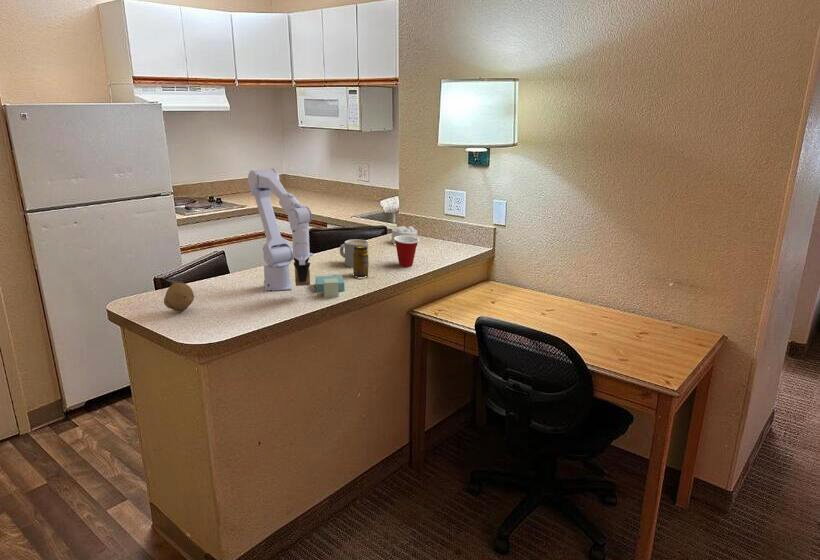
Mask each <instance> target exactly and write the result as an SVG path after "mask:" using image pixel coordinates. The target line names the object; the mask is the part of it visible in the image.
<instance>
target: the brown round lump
mask: <svg viewBox="0 0 820 560" xmlns="http://www.w3.org/2000/svg"><path fill="white" fill-rule="evenodd" d="M194 299H195V295H194V291H193V289H192V288H191V286H190V285H188V284H187V283H185V282H174V283H172V284H171V285H170V286H169V287H168V288H167V291H166V292H165V296H164V297H163V303H164V306H165V307H167V308H168V309H171V310H173V311H175V312H178V311H182V312H184V311H185V310H187V309H188V308H189V307H190V306H191V304H192V303H193V302H194Z"/></svg>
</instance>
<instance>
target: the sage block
mask: <svg viewBox="0 0 820 560" xmlns="http://www.w3.org/2000/svg"><path fill="white" fill-rule="evenodd" d="M323 285H324V292H323V295H324V296H325V297H324V296H323V297H324V298H338V297H340V296H339V292H340V291H339V289H338V280H337V278H333V279H323Z"/></svg>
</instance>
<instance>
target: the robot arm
mask: <svg viewBox="0 0 820 560" xmlns="http://www.w3.org/2000/svg"><path fill="white" fill-rule="evenodd" d="M247 183H248V187H249V190H250V193H251V195H252V196H253V197H254V199H255V203H256V206H257V210H258V213H259V216H260V219H261V223H262V227H263V229H264V230H263V231H264V233H265V237H266V239H267V241H266V242H265V243H264V244H263V246H262V252H263V253H262V254H263V260H264V263H265V264H264V265H263V273H264V274H263V277H264V280H263V284H264V291H265V290H266V291H265V292H268V291H269V292H270V290H272V291H284V290H285V291H288V290H292V282H291V276H290V275H291V274H290V265H291V264H292V262H293V261H294V262H293V266H294V269H295V268H296V270H297V273H298V277H299V281H300V282H306V278H307V271H308V268H309V269H310V266H311V262H309V260H310V257H314V253H313V252H310V251H311V250H310V233H309V232H310V230H309V229H310V226H309V223H311V222H312V218H313V216H312V215H313V214H312V212H311V209H310V207H308V206H305V205H303V204H301V203H300V201H299V200H298V199H297V198H296V197H295V195H294V194H293V193H291V192H287V190H286V189H285V187H284V185H283V184H282V183H281V181H280V174H279V173H278V171H277V170H276V169H275V168H271V169H270V168H269V169H258V170H256V169H255V170H249V172H248V175H247ZM272 194H274V196H276V197H277V198H278V199H279V200H278V202H279V204H278V205H279V206H280V207H281V208H282V210H283V211H284V212H285V213H286V214H287V220H288V223H289V227H290V229H291V237H292V238H291V239H292V247H291V245H290V242H289V240H287V239H286V238H284V237H282V235H281V231H280V229H279V228H280V227H279V226H278V222H277V218H276V215H275V212H274V209H273V204H272V202H271V198H270V197H271V195H272ZM267 290H268V291H267Z"/></svg>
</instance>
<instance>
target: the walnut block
mask: <svg viewBox="0 0 820 560" xmlns="http://www.w3.org/2000/svg"><path fill="white" fill-rule="evenodd" d="M310 271H311V270H310V267H309V268H308V271H307V278H306V282H300V281H299V277H298V273H297V270H296V268H295V267H294V279H295V280H294V282H295V286H296V287H298V286H299V287H300V286H301V287H302V286H303V287H304V286H310V285H311V274H310V273H311V272H310Z"/></svg>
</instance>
